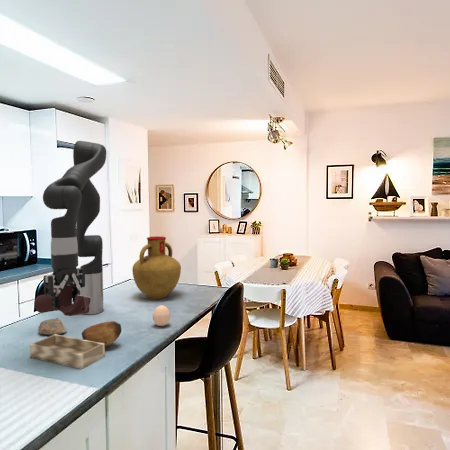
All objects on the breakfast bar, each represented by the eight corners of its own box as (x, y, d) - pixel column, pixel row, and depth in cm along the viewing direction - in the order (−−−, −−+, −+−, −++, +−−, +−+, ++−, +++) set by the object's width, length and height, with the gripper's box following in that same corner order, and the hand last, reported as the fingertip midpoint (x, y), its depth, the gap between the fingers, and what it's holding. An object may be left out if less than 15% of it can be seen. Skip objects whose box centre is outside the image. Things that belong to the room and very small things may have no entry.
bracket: (81, 311, 107) (82, 277, 111) (32, 319, 111) (35, 286, 115) (94, 313, 113) (94, 281, 116) (47, 320, 117) (49, 289, 120)
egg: (153, 329, 138) (153, 308, 138) (152, 323, 145) (151, 303, 144) (171, 327, 140) (171, 307, 139) (169, 322, 146) (169, 302, 146)
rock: (33, 333, 135) (43, 335, 128) (36, 317, 137) (46, 317, 130) (58, 333, 141) (68, 335, 134) (60, 317, 142) (71, 318, 135)
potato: (85, 357, 121) (88, 336, 128) (125, 347, 122) (126, 327, 128) (75, 344, 117) (79, 323, 123) (116, 334, 117) (118, 313, 123)
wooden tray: (30, 357, 114) (29, 344, 114) (55, 346, 123) (55, 334, 122) (81, 369, 106) (81, 355, 105) (104, 356, 114) (104, 343, 114)
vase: (157, 289, 202) (157, 234, 200) (191, 295, 188) (190, 236, 186) (122, 298, 183) (121, 237, 181) (156, 306, 169) (155, 240, 167)
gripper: (73, 248, 120) (75, 298, 121) (35, 254, 107) (37, 310, 108) (91, 249, 117) (92, 300, 118) (54, 255, 104) (56, 313, 105)
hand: (66, 305), depth 113 cm, fingers closed on bracket, 7 cm apart
